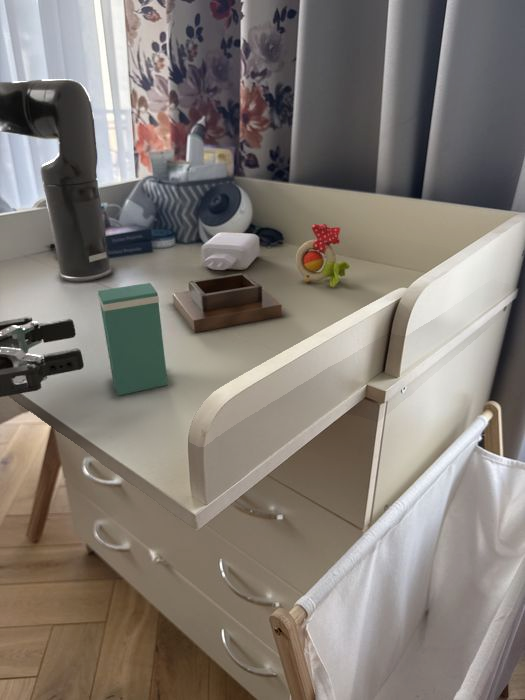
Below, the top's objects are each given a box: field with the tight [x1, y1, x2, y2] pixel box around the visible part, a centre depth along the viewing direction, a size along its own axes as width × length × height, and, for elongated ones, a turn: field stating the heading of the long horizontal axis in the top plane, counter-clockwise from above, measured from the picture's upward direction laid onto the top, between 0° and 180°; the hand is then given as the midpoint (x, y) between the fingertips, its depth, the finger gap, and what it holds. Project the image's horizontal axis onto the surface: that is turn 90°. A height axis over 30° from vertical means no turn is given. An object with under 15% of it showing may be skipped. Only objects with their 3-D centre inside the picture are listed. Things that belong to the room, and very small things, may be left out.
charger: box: [200, 231, 260, 271], centre depth 105 cm, size 5×9×15 cm
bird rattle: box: [295, 223, 350, 288], centre depth 95 cm, size 6×11×9 cm
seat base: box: [172, 272, 282, 333], centre depth 86 cm, size 14×12×4 cm
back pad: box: [97, 282, 169, 397], centre depth 64 cm, size 6×4×12 cm, turn 113°
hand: (78, 341), depth 61 cm, fingers open, 8 cm apart
